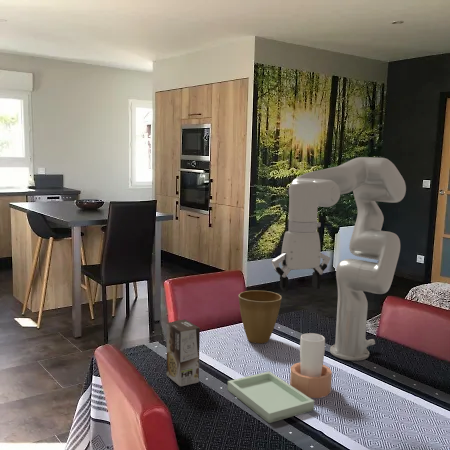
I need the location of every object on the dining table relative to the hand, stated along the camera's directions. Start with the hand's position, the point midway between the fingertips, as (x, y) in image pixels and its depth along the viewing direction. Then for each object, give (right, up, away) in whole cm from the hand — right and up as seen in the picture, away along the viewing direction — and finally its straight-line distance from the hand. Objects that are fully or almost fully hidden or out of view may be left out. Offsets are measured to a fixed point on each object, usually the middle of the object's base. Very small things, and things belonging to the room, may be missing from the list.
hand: (300, 288), depth 141 cm
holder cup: (+3, -28, +3) cm, 29 cm away
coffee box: (-33, -27, +8) cm, 43 cm away
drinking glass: (+3, -29, +3) cm, 29 cm away
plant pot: (-9, -23, +40) cm, 47 cm away
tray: (-9, -29, -4) cm, 31 cm away
